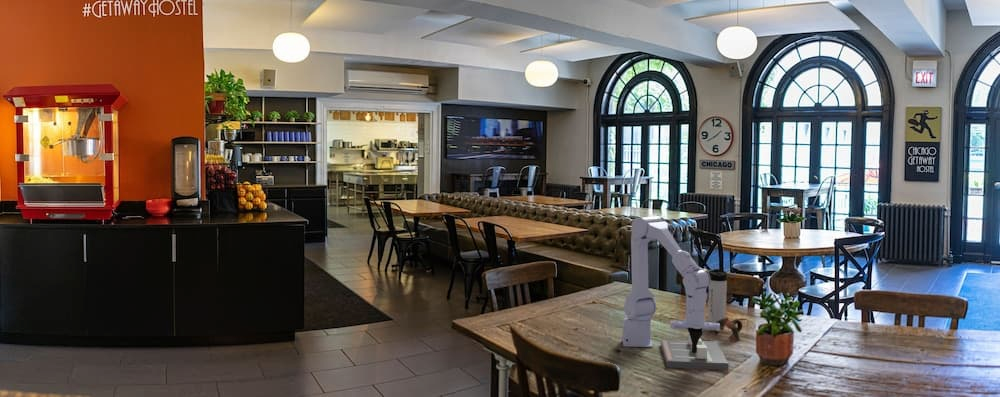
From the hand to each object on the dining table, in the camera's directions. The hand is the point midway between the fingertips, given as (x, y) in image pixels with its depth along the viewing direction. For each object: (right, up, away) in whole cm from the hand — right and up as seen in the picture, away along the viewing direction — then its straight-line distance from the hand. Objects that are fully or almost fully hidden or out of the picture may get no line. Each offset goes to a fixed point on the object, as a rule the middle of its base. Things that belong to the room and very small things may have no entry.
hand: (694, 352), depth 217 cm
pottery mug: (+19, -1, +28) cm, 34 cm away
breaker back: (+3, 0, +14) cm, 14 cm away
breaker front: (+2, -2, 0) cm, 3 cm away
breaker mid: (+2, -1, +7) cm, 7 cm away
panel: (+2, -3, +7) cm, 8 cm away
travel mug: (+21, 0, +46) cm, 50 cm away
